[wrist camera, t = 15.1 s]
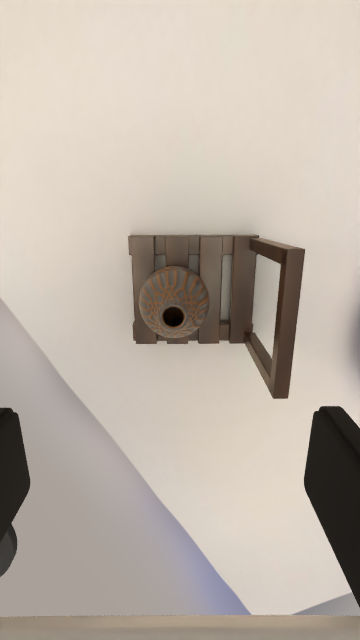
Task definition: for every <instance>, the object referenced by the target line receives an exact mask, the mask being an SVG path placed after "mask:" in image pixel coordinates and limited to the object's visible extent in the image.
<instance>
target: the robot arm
mask: <svg viewBox="0 0 360 640" xmlns="http://www.w3.org/2000/svg"><path fill="white" fill-rule="evenodd" d="M304 486H305V490H306V493H307V495H308V497H309V499H310V501H311V504H312V506H313V508H314V510H315V512H316V514H317V517H318V519H319V521H320V523H321V525H322V527H323V529H324V532H325V534H326V536H327V538H328V540H329V542H330V545H331V547H332V549H333V551H334V553H335V555H336V558H337V560H338V562H339V564H340V566H341V568H342V571H343V573H344V575H345V577H346V579H347V581H348V583H349V586H350V588H351V590H352V592H353V594H354V596H355V599H356V601H357V603H358V605H359V607H360V428H359V427H358V426H357V425H356V423H355V422H354V421H353V420H352V419H351V418H350V416H349V415H348V414H347V413H346V412H345V411H344V409H343V408H342V407H339V406H322V407H320V409H319V411H315V412H314V414H313V420H312V427H311V434H310V441H309V448H308V455H307V462H306V469H305V476H304ZM29 488H30V476H29V471H28V466H27V460H26V455H25V449H24V444H23V438H22V433H21V427H20V422H19V417H18V414H17V413H15V412H13V410H12V409H11V408H0V543H1V541H2V539H3V537H4V536H5V534H6V532H7V530H8V528H9V527H10V525H11V523H12V521H13V519H14V517H15V516H16V513H17V512H18V510H19V508H20V506H21V505H22V503H23V501H24V499H25V497H26V495H27V493H28V491H29ZM0 640H360V616H333V615H167V616H165V615H164V616H163V615H161V616H160V615H159V616H158V615H156V616H155V615H148V616H37V617H35V616H33V617H0Z"/></svg>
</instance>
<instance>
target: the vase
mask: <svg viewBox="0 0 360 640" xmlns="http://www.w3.org/2000/svg"><path fill="white" fill-rule="evenodd" d="M139 309H140V313H141V316H142V318H143V320H144V321H145V323H146V324H147V325H148V327H149V328H150V329H151V330H153V331H154V332H155V333H157V334H159V335H161V336H164V337H168V338H180V337H184V336H187V335H189V334H191V333H193V332H194V331H196V330H197V329H198V328H199V327H200V326H201V325H202V323H203V322H204V320H205V318H206V316H207V314H208V310H209V294H208V290H207V288H206V286H205V284H204V282H203V281H202V279H201V278H200V277H199V276H198V275H197V274H196V273H194V272H193V271H191V270H189V269H187V268H184V267H180V266H168V267H164V268H161V269H159V270H157V271H156V272H154V273H153V274H152V275H150V276H149V277H148V279H147V280H146V281H145V283H144V284H143V286H142V289H141V291H140V295H139Z"/></svg>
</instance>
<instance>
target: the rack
mask: <svg viewBox="0 0 360 640" xmlns="http://www.w3.org/2000/svg"><path fill="white" fill-rule="evenodd" d="M128 240H129V255H132V273H133V294H134V315H135V321H134V323H133V339H134V341H136V344H157V341H167V344H188V341H190V340H198V343H199V344H210V343H219V340H229V343H245V345H246V347H247V349H248V351H249V353H250V355H251V357H252V358H253V360H254V362H255V364H256V366H257V368H258V370H259V372H260V374H261V376H262V378H263V380H264V381H265V383H266V385H267V387H268V389H269V391H270V393H271V395H272V397H273V398H274V399H285V398H288V394H289V385H290V377H291V368H292V359H293V351H294V342H295V333H296V324H297V316H298V307H299V298H300V289H301V281H302V272H303V263H304V254H305V249H302V248H298V247H294V246H290V245H286V244H282V243H278V242H274V241H270V240H266V239H262V238H259V235H130V236H128ZM258 254H260V255H262V256H264V257H267V258H269V259H271V260H273V261H275V262H277V263H280V264H281V270H280V281H279V292H278V303H277V313H276V324H275V335H274V345H273V356H272V358H271V357H270V355H269V354H268V352H267V351H266V349H265V348H264V346H263V345H262V343H261V342H260V340H259V339H258V337H257V335H256V334H255V333H254V332H253V324H252V311H253V297H254V282H255V268H256V255H258ZM155 255H166V267H168V266H180V267H184V268H187V269H188V255H199V277H200V278H201V279H202V281H203V282H204V284H205V286H206V288H207V290H208V294H209V310H208V314H207V316H206V318H205V320H204V322H203V323H202V325H201V326H200V327H199V328H198V329H197V330H196V331H194V332H193V333H191V334H189V335H187V336H184V337H180V338H168V337H164V336H161V335H159V334H157V333H155V332H154V331H153V330H151V329H150V328H149V327H148V325H147V324H146V323H145V321H144V320H143V318H142V316H141V313H140V309H139V295H140V291H141V289H142V286H143V284H144V283H145V281H146V280H147V279H148V277H149V276H150V275H152V274H153V273H154V272H155ZM222 255H232V275H231V297H230V318H229V321H220V306H221V279H222Z"/></svg>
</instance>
